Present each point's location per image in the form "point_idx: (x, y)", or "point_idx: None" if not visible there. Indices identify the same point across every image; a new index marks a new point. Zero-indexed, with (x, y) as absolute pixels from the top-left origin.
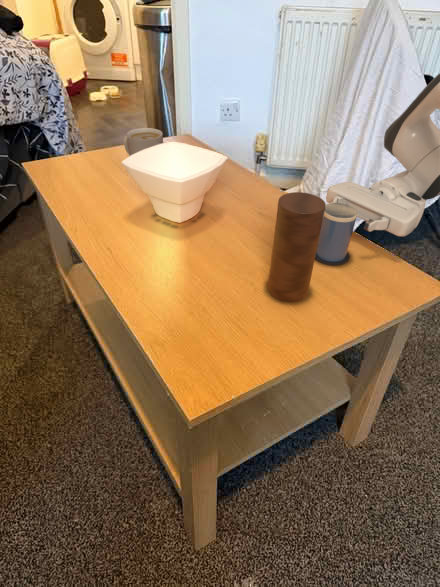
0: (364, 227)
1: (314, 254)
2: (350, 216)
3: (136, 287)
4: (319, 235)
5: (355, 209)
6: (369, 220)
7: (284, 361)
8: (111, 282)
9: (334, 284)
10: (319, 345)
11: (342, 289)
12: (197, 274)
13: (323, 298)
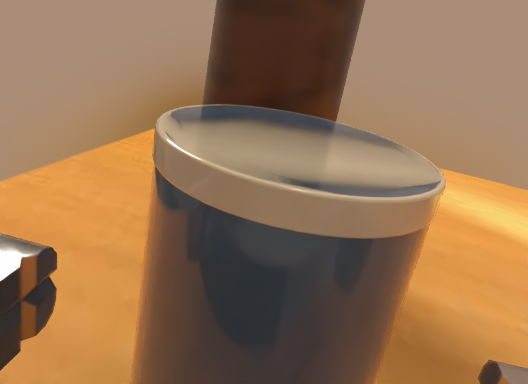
0: (48, 293)
1: (207, 68)
2: (193, 112)
3: (458, 184)
4: (218, 6)
5: (203, 159)
6: (9, 262)
7: (146, 139)
8: (491, 184)
9: (120, 281)
10: (98, 157)
11: (82, 271)
12: (443, 218)
13: (135, 230)
